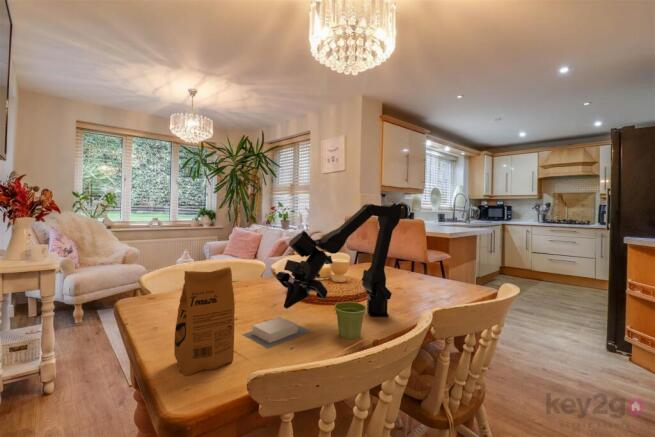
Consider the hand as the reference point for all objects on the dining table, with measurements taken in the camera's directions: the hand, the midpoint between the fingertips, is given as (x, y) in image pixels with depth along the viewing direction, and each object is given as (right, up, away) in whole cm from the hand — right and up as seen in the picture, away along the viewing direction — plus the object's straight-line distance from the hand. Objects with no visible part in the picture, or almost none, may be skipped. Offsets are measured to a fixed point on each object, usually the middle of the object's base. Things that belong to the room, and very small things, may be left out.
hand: (285, 307), depth 89 cm
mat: (-2, -7, -2) cm, 8 cm away
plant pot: (+19, -8, -1) cm, 21 cm away
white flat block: (+1, -5, +1) cm, 6 cm away
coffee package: (-16, -7, -19) cm, 26 cm away
